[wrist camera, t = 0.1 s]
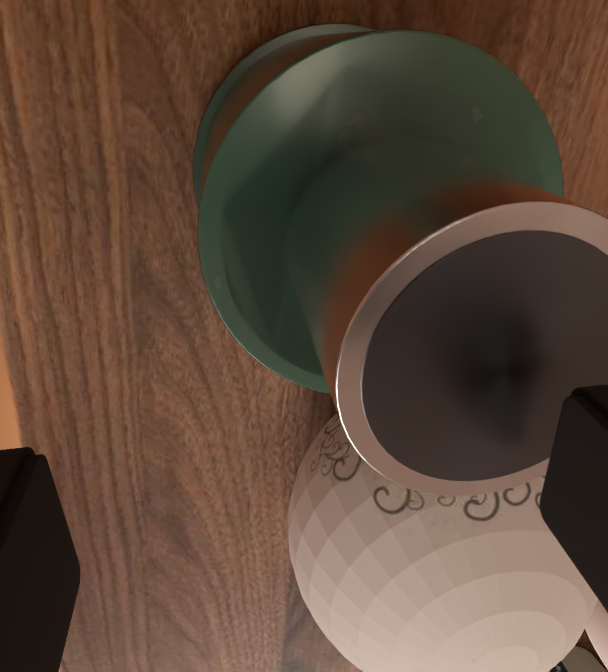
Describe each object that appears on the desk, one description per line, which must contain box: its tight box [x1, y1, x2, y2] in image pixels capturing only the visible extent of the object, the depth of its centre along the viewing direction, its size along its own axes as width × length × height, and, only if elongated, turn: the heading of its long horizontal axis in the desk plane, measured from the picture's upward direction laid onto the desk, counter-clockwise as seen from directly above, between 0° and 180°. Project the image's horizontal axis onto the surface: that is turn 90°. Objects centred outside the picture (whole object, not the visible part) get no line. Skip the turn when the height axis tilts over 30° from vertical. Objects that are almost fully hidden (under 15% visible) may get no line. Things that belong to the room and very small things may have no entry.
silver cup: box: [286, 134, 608, 496], centre depth 14 cm, size 7×7×8 cm
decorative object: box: [288, 414, 598, 672], centre depth 28 cm, size 15×15×15 cm
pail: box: [193, 23, 563, 394], centre depth 22 cm, size 13×13×10 cm
